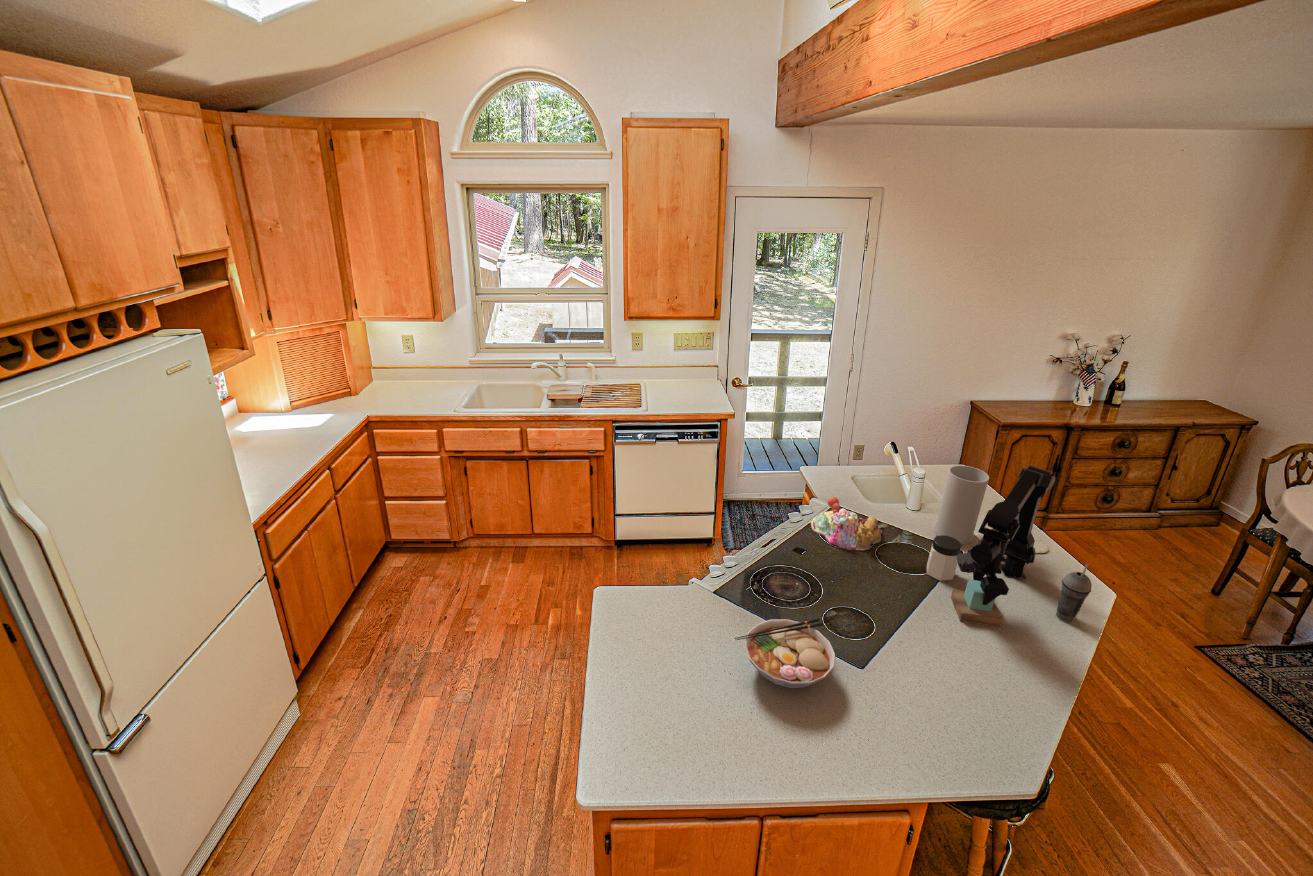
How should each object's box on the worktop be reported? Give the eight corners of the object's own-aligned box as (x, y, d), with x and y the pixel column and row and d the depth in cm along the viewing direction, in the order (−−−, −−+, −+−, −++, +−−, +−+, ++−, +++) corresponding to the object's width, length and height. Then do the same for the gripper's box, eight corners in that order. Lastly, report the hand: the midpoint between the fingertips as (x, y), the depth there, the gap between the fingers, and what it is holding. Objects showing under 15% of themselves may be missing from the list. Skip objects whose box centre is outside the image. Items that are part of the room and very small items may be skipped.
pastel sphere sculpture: (888, 528, 229) (893, 506, 226) (871, 559, 211) (876, 536, 207) (822, 508, 241) (825, 487, 237) (800, 536, 223) (803, 513, 219)
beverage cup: (1071, 610, 189) (1092, 554, 181) (1083, 626, 183) (1106, 569, 175) (1046, 608, 190) (1065, 552, 182) (1057, 624, 183) (1078, 567, 175)
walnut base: (950, 597, 193) (952, 589, 192) (988, 602, 192) (991, 594, 190) (960, 621, 183) (962, 613, 182) (1000, 626, 182) (1002, 618, 181)
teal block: (963, 595, 189) (968, 579, 187) (984, 598, 189) (989, 582, 186) (969, 608, 184) (974, 592, 182) (991, 611, 183) (996, 594, 181)
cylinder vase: (926, 528, 229) (941, 467, 219) (954, 524, 233) (970, 463, 223) (950, 547, 218) (967, 484, 208) (979, 542, 222) (997, 479, 212)
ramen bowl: (759, 714, 150) (763, 689, 147) (725, 648, 170) (727, 624, 167) (852, 695, 157) (857, 670, 153) (808, 633, 177) (812, 610, 173)
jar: (925, 562, 210) (933, 532, 205) (952, 568, 207) (960, 537, 202) (926, 578, 202) (934, 546, 197) (953, 584, 200) (962, 552, 195)
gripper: (954, 529, 188) (943, 572, 194) (972, 565, 171) (959, 611, 178) (994, 533, 186) (981, 577, 193) (1015, 570, 170) (1001, 616, 176)
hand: (979, 594), depth 185 cm, fingers open, 9 cm apart
